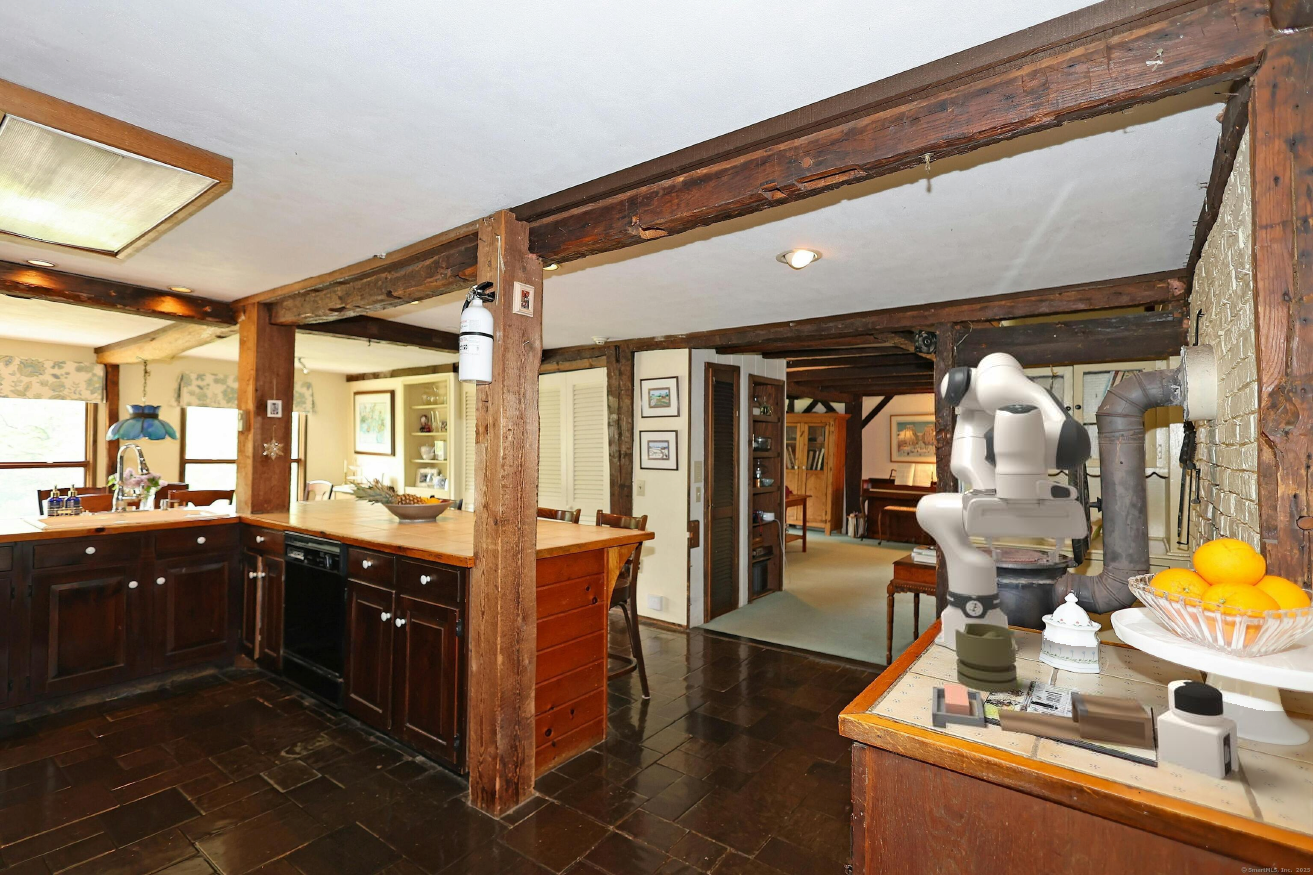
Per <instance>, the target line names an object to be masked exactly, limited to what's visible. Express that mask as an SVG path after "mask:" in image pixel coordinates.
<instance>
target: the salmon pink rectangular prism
mask: <svg viewBox="0 0 1313 875" xmlns="http://www.w3.org/2000/svg"><path fill="white" fill-rule="evenodd" d="M943 688H944V689H945V708H946V713H950V714H958V715H966V716H971V715H970V714H971V713H970V703H969V702H970V699H968V694H967V691H968V687H966V686H964V685H959V684H957V685H956V684H949V683H944V684H943Z"/></svg>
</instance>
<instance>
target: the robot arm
mask: <svg viewBox="0 0 1313 875" xmlns="http://www.w3.org/2000/svg"><path fill="white" fill-rule="evenodd" d="M940 384H941V385H940V394H941V399H942V401H943V402H944V404H946V405H949V406H951V407H954V408H958V407H959V408H963V410H962V411H961V412H960V413H959V416H958V418H957V420H956V424H955V429H954V433H953V438H952V444H951V445H952V446H951V457H950V472H951V473H952V475H953V476H954V477H955V478H956V479H958V480H959V481H961V482H963V483H965V484H967V485H969V486H971V487H972V488H971V489H970V490H968V491H966V492H939V493H938V492H937V493H931V494H927V495H924V496H922V497H921V499H919V501H918V503H917V506H916V510H915V515H916V516H915V517H916V519H917V520H916V521H917V522H918V525H919V526H920V527H921V529H923V531H925V532H926V533H928V535H929V536H931V537H932V538H933V539H934V540H935V541H936V543H937V544H938V545H939V547H940V549H941V551H942V552H943V555H944V559H945V562H946V570H947V579H948V580H947V581H948V588H947V590H946V591H947V592H946V598H947V599H946V600H947V604H948V605H947V607H946V608H944V609H943V611H942V612H941V614H940V621H941V624H942V625H940V626H941V628H940V630H941V631H940V632H939V634H937V636H936V637H935V638H934V644H935V645H939V646H942V647H943V646H944V647H946V648H948V649H950V650H953V651H956V638H955V629H957V630H959V631H961V632H963V631H964V629H965V624H966V623H984V624H993V625H998V626H1002V627H1006V628H1009V623H1008V616H1007V615H1006V614H1005V613H1004V612H1003V611H1002V610H1001V609H1000V607H1001V597H1000V592H999V591H998V583H997V581H998V580H997V577H998V576H997V565H996V562H995V561H1002V558H1003V557H1002V551H1001V550H1000V549H996V548H995V546H994V545H993V544H992V543H995V539H1000V538H1024V539H1026V538H1028V539H1029V538H1031V539H1033V538H1034V539H1054V543H1055V544H1056V545H1055V547H1054V549H1053V550H1052V551H1048V553H1047V555H1048V561H1049V563H1059V562H1060V558H1059V556H1060V555H1059V554H1060V553H1061V551H1062V550H1063V549H1064V547H1065V545H1066V539H1067V540H1068V539H1072V540H1073V539H1078V540H1079V539H1085V537H1086V536H1087V535H1088V524H1087V518H1086V514H1085V509H1084V507H1083V505H1082V503H1080V502H1079V501H1078V500H1076V499H1077V497H1078V489H1077V488H1076V487H1074V486H1072V485H1068V484H1064V483H1061V482H1059V481H1056V480H1054V481H1053V480H1049V472H1048V471H1049V470H1057V471H1071V472H1073V471H1076V470H1077V469H1079V468H1080V467H1082V466H1084V464H1085V463H1087V462H1088V461H1089V459H1090V458H1091V454H1092V441H1091V436H1090V435H1089V432H1088V430H1087V428H1086V427H1085V426H1084V425H1083V424H1082V423H1081V422H1079V420H1076V419H1075V418H1074V417H1073V416H1072V415H1071V413H1070V412H1069V411H1068V409H1067V408H1066V407H1065V405H1063V403H1062V402H1061V400H1059V398H1058V397H1057V396H1056V395H1055V393H1054V392H1052V390H1051V389H1049V388H1047V387H1045V386H1041V385H1040V384H1037V383H1036V381H1035V380H1034V378H1033V377H1031V376H1030V375H1027V374H1026V373H1025V370H1024V368H1023V367H1022V365H1021V364H1020V363H1019V361H1018V360H1017V359H1016V358H1015V357H1013V356H1012V355H1010V354H1008V353H1004V352H994V353H991V354H988V355H986V356H985V357H983V358H982V359H981V360H980V362H979V363H978V364H977V367H968V366H960V367H959V366H958V367H953V368H951V369H950V370H948V371H947V372H946V374H945V376H943V379H942V381H941V383H940ZM970 537H974V538H976V537H977V538H978V537H979V538H984V539H985V543H986V544H987V545H988V548H989V549H990V550H991V554H992V557H991V556H990V555H989V554H988V553H986V552H985V551H982V550H980V549H979V548H977V547H976V546H974V544H973V543H972V541H971V539H970ZM1015 649H1016V652H1017V651H1018V650H1019V647H1018V645H1017V644H1016V643H1015Z"/></svg>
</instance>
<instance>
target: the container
mask: <svg viewBox="0 0 1313 875" xmlns="http://www.w3.org/2000/svg"><path fill="white" fill-rule="evenodd" d="M1167 690H1168V691H1167V693H1168V694H1167V695H1168V697H1167V698H1168V709H1169V710H1167V711H1166V712H1164V713H1162V714H1160V715H1159V716H1157V719H1156V722H1157V742H1158V743H1157V744H1158V758H1159V760H1160V761H1162V762H1165V763H1168V764H1172V765H1175V766H1177V767H1181V768H1184V769H1186V770H1189V771H1194V772H1196V773H1199V774H1202V775H1206V776H1209V777H1212V778H1214V779H1218V780H1223V779H1224V778H1225V777H1227V775H1229V774H1230V773H1231V772H1232V771H1233V770H1234V771H1235V773H1237V772H1239V768H1240V767H1239V749H1238V748H1239V747H1238V734H1237V733H1238V731H1237V722H1236V721H1235V720H1233V719H1229V718H1225V717H1224V716H1225V715H1224V700H1223V699H1224V698H1223V693H1222V692H1221V691H1220V690H1219V689H1218V688H1217V687H1215V686H1212V685H1210V684H1207V683H1204V682H1201V681H1198V680H1197V681H1196V680H1188V679H1180V680H1179V679H1178V680H1173V681H1171V682H1169V683H1168V685H1167Z"/></svg>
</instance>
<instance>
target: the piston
mask: <svg viewBox="0 0 1313 875" xmlns="http://www.w3.org/2000/svg"><path fill="white" fill-rule="evenodd" d="M955 638H956V650H955V655H956V657H957V659H956V676H957V678H956V679H957V682H958V683H959V684H961V686H966V687H967V688H970V689H972V690H974V691H975V690H976V691H978V692H986V693H998V694H999V693H1009V692H1013V691H1015V690H1017V688H1018V676H1017V674H1018V673H1017V665H1016V664H1015V663H1016V662H1017V651H1016V649H1015V644H1016V638H1015V632H1014V631H1013V629H1011V628H1009V627H1008V628H1006V627H1002V626H998V625H993V624H984V623H966V624H965V629H964V631H963V632H961V631H959V630H957V629H955Z"/></svg>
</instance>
